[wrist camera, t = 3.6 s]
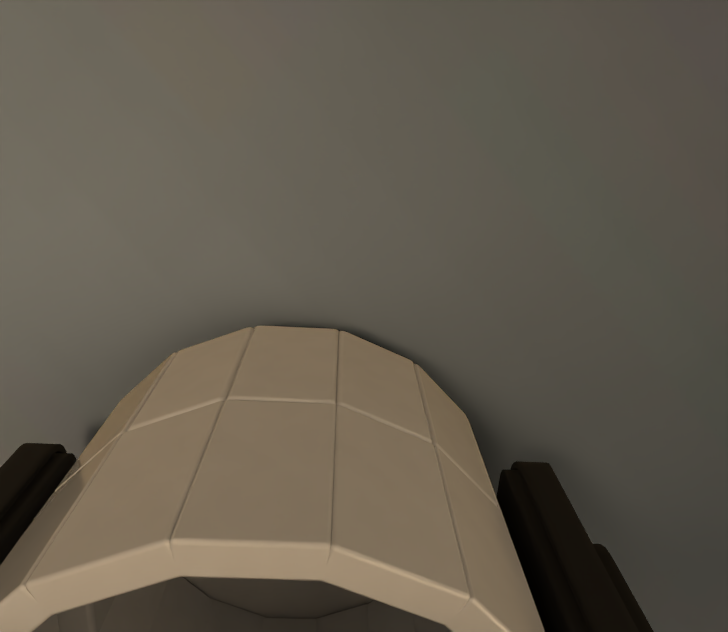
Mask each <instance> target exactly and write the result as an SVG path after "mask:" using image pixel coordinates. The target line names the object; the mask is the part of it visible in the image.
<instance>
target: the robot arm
mask: <svg viewBox="0 0 728 632" xmlns="http://www.w3.org/2000/svg"><path fill="white" fill-rule="evenodd" d="M75 462H76V458H75V456H74V455H73V454H68V453H66V450H65V448H64V446H62V445H61V444H38V443H25V444H23V445H21V446H20V447H19V448H18V449H17V450H16V451H15V452H14V454H13V455H12V456H11V457H10V458H9V459H8V460H7V461H6V462H5V463H4V464H3V466H2V467H1V468H0V565H1V564H2V562H3V561H4V560H5V558H6V557H7V556H8V554H9V553H10V551H11V550H12V549H13V547H14V546H15V545H16V543H17V542H18V540H19V539H20V538H21V536H22V535H23V534H24V532H25V531H26V529H27V528H28V527H29V525H30V524H31V523H32V521H33V520H34V518H35V517H36V516H37V514H38V513H39V512H40V510H41V509H42V507H43V506H44V505H45V503H46V502H47V501H48V499H49V498H50V496H51V495H52V494H53V493H54V492H55V490H56V488H57V487H58V485H59V484H60V483H61V481H62V480H63V479H64V477H65V476H66V474H67V473H68V472H69V470H70V469H71V468H72V466H73V465H74V463H75ZM497 500H498V502H499V505H500V508H501V511H502V514H503V516H504V519H505V522H506V525H507V527H508V530H509V533H510V536H511V538H512V541H513V544H514V547H515V550H516V552H517V555H518V558H519V561H520V563H521V566H522V569H523V572H524V575H525V577H526V580H527V583H528V586H529V588H530V591H531V594H532V597H533V599H534V602H535V605H536V608H537V611H538V613H539V616H540V619H541V622H542V624H543V627H544V630H545V632H653V630H652V628H651V626H650V624H649V623H648V621H647V619H646V617H645V615H644V614H643V612H642V610H641V608H640V606H639V605H638V603H637V601H636V599H635V598H634V596H633V594H632V592H631V590H630V589H629V587H628V585H627V583H626V581H625V580H624V578H623V576H622V574H621V572H620V571H619V569H618V567H617V565H616V564H615V562H614V560H613V558H612V556H611V555H610V553H609V552H608V550H607V549H606V548H605V547H604V546H602V545H601V544H592V542H591V540H590V539H589V537H588V535H587V533H586V531H585V529H584V527H583V525H582V524H581V522H580V520H579V518H578V516H577V514H576V512H575V510H574V509H573V507H572V505H571V503H570V501H569V499H568V497H567V495H566V493H565V492H564V490H563V488H562V486H561V484H560V482H559V480H558V478H557V477H556V475H555V473H554V471H553V469H552V467H551V466H550V464H549V463H543V462H517V461H515V462H514V463H513V465H512V467H511V470H502V472H501V474H500V479H499V486H498V492H497Z"/></svg>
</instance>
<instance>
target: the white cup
mask: <svg viewBox="0 0 728 632" xmlns="http://www.w3.org/2000/svg"><path fill="white" fill-rule="evenodd" d="M0 632H545V630H544V627H543V624H542V622H541V619H540V616H539V613H538V611H537V608H536V605H535V602H534V599H533V597H532V594H531V591H530V588H529V586H528V583H527V580H526V577H525V575H524V572H523V569H522V566H521V563H520V561H519V558H518V555H517V552H516V550H515V547H514V544H513V541H512V538H511V536H510V533H509V530H508V527H507V525H506V522H505V519H504V516H503V514H502V511H501V508H500V505H499V502H498V500H497V497H496V494H495V491H494V489H493V486H492V483H491V480H490V477H489V475H488V472H487V469H486V466H485V464H484V461H483V458H482V455H481V453H480V450H479V447H478V444H477V441H476V439H475V436H474V433H473V430H472V428H471V425H470V422H469V420H468V419H467V418H466V415H465V413H464V412H463V411H462V410H461V409H460V408H459V407H458V406H457V405H456V404H455V403H454V402H453V401H452V400H451V399H450V398H449V397H448V396H447V395H446V393H445V392H444V391H443V390H442V389H441V388H440V387H439V386H438V385H437V384H436V383H435V382H434V381H433V380H432V379H431V378H430V377H429V376H428V375H427V373H426V372H425V371H424V370H423V369H422V368H421V367H420V366H419V365H417V364H414V363H413V362H412V361H411V360H409V359H407V358H404V357H402V356H400V355H398V354H395V353H393V352H391V351H388V350H386V349H384V348H382V347H379V346H377V345H375V344H373V343H370V342H368V341H366V340H363V339H361V338H359V337H357V336H354V335H352V334H350V333H347V332H345V331H340V332H339V331H338V330H336V329H325V328H303V327H281V326H255V328H254V329H253V327H247V328H244V329H241V330H238V331H236V332H233V333H230V334H227V335H224V336H221V337H218V338H215V339H212V340H209V341H206V342H203V343H200V344H197V345H194V346H191V347H188V348H185V349H182V350H179V351H178V352H177V353H176V352H175V353H172V354H171V355H170V356H169V357H168V358H167V359H166V360H164V361H163V362H162V363H161V364H160V365H159V366H158V367H157V368H156V369H155V370H153V371H152V372H151V373H150V374H149V375H148V376H147V377H146V378H145V379H143V380H142V381H141V382H140V383H139V384H138V385H137V386H136V387H135V388H134V389H132V390H131V391H130V392H129V393H128V394H127V395H126V396H125V397H124V398H123V399H121V400H120V402H119V403H118V404H117V406H116V407H115V409H114V410H113V411H112V413H111V414H110V415H109V417H108V418H107V419H106V421H105V422H104V424H103V425H102V426H101V428H100V429H99V430H98V432H97V433H96V435H95V436H94V437H93V439H92V440H91V441H90V443H89V444H88V446H87V447H86V448H85V450H84V451H83V452H82V454H81V455H80V457H79V458H78V459H77V461H76V462H75V463H74V465H73V466H72V468H71V469H70V470H69V472H68V473H67V474H66V476H65V477H64V479H63V480H62V481H61V483H60V484H59V485H58V487H57V488H56V490H55V492H54V493H53V494H52V495H51V496H50V498H49V499H48V501H47V502H46V503H45V505H44V506H43V507H42V509H41V510H40V512H39V513H38V514H37V516H36V517H35V518H34V520H33V521H32V523H31V524H30V525H29V527H28V528H27V529H26V531H25V532H24V534H23V535H22V536H21V538H20V539H19V540H18V542H17V543H16V545H15V546H14V547H13V549H12V550H11V551H10V553H9V554H8V556H7V557H6V558H5V560H4V561H3V562H2V564H1V565H0Z"/></svg>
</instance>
